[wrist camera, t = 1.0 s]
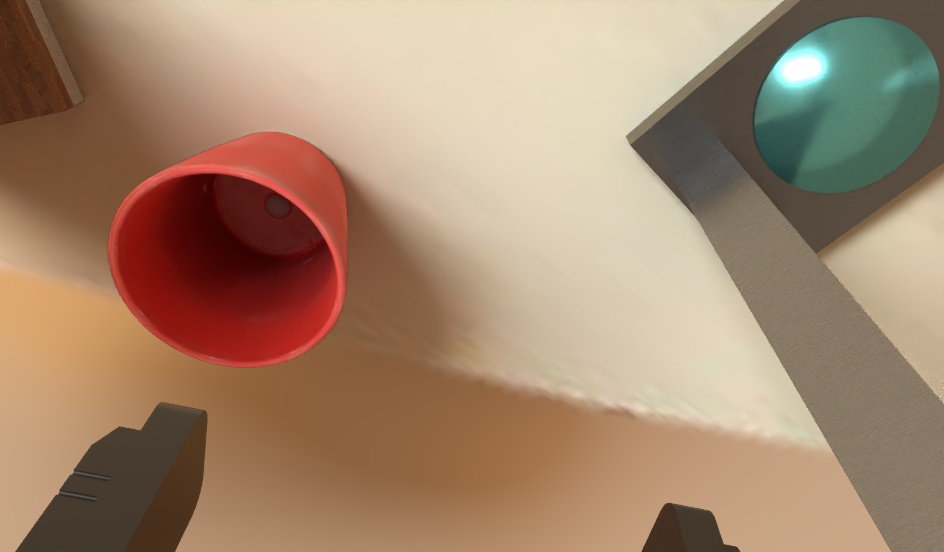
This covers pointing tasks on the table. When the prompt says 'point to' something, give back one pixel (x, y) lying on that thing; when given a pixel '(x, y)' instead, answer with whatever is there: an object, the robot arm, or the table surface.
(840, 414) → the arbor press
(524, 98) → the table surface
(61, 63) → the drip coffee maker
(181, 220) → the flower pot
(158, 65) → the table surface
